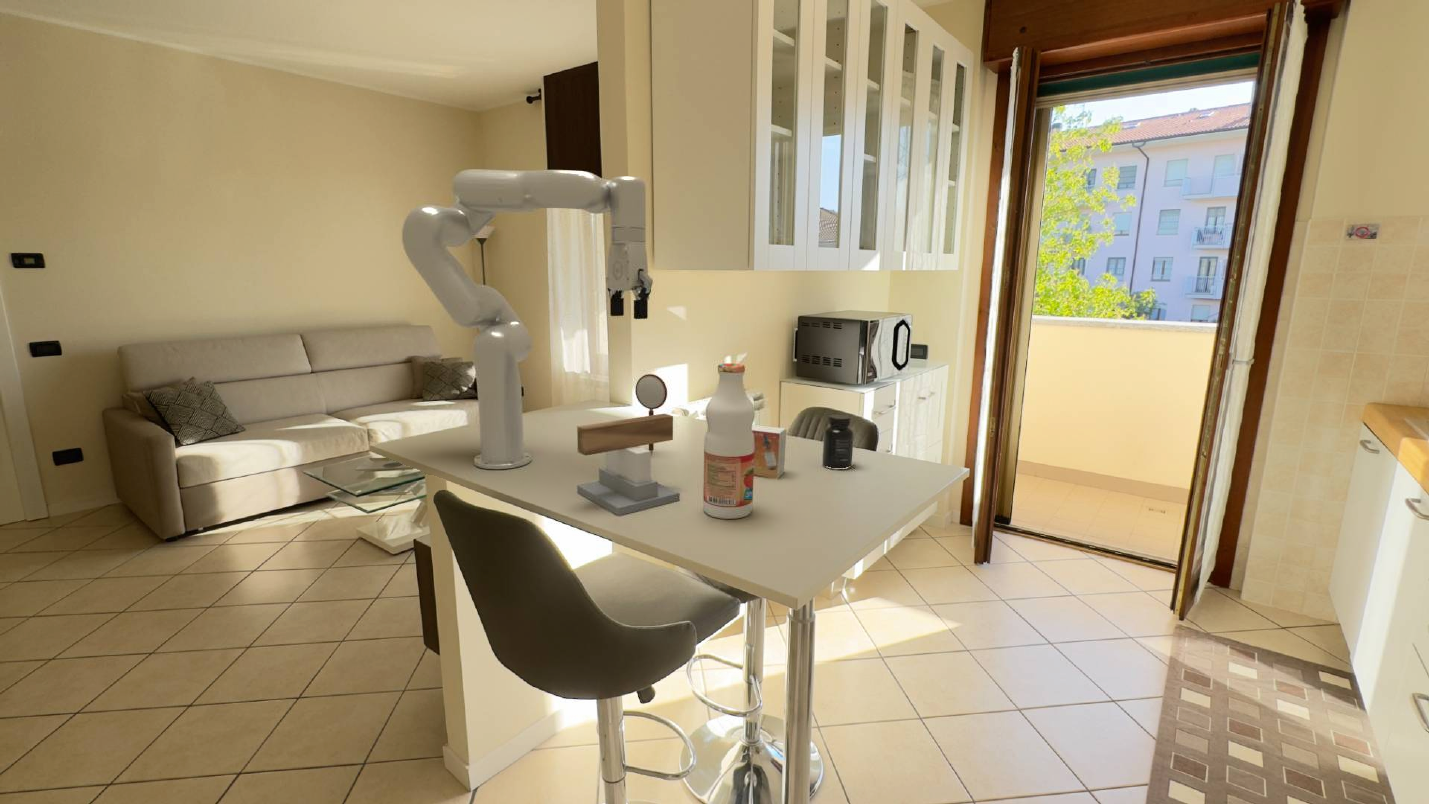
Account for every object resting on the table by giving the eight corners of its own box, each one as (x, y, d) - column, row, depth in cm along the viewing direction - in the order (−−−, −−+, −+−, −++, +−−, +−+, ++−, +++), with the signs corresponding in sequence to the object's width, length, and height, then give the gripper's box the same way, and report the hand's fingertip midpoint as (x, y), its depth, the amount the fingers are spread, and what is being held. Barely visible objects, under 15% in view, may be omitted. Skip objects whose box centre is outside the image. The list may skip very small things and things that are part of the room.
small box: (743, 474, 145) (744, 429, 143) (751, 467, 150) (753, 423, 148) (777, 479, 142) (779, 433, 140) (784, 472, 147) (786, 427, 145)
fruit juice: (698, 503, 126) (700, 361, 120) (744, 501, 128) (749, 361, 123) (708, 521, 117) (711, 369, 111) (758, 518, 119) (763, 368, 114)
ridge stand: (577, 492, 131) (576, 442, 129) (635, 479, 140) (635, 432, 138) (618, 515, 119) (617, 461, 117) (679, 500, 128) (680, 449, 126)
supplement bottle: (855, 465, 154) (859, 416, 151) (845, 472, 148) (848, 421, 146) (828, 460, 157) (831, 412, 155) (817, 467, 152) (820, 417, 149)
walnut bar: (577, 452, 122) (577, 426, 121) (664, 436, 135) (664, 413, 134) (585, 455, 120) (584, 429, 119) (672, 439, 132) (673, 416, 131)
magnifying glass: (668, 455, 159) (668, 375, 155) (664, 457, 157) (665, 376, 153) (637, 450, 162) (637, 372, 158) (634, 452, 161) (634, 373, 157)
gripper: (592, 237, 143) (594, 315, 146) (635, 235, 130) (635, 320, 133) (622, 239, 148) (622, 314, 151) (665, 237, 135) (665, 319, 138)
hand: (628, 317), depth 142 cm, fingers open, 9 cm apart
